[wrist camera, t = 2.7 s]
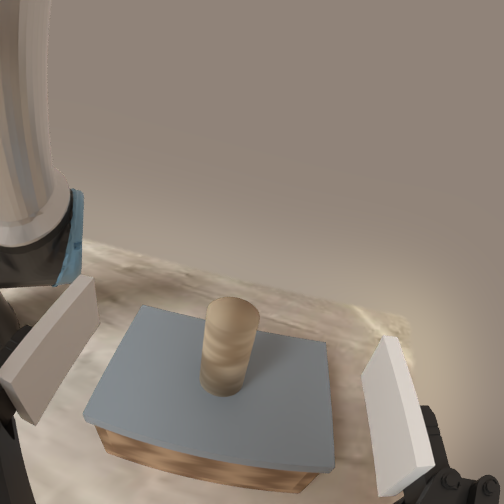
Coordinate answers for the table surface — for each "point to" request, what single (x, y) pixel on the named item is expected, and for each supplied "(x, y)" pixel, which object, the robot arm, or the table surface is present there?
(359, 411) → the table surface
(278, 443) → the lid
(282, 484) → the brown wooden open box
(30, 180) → the robot arm
